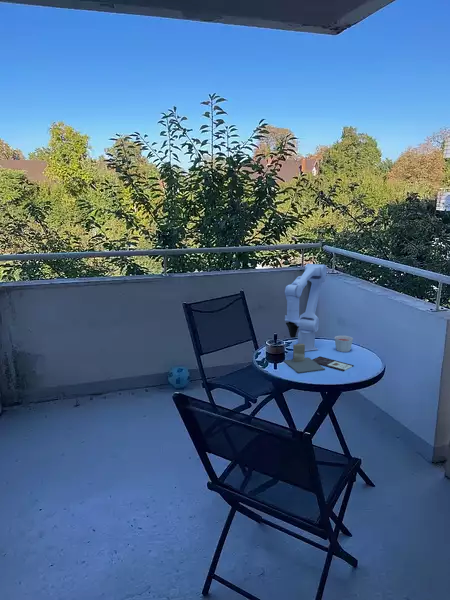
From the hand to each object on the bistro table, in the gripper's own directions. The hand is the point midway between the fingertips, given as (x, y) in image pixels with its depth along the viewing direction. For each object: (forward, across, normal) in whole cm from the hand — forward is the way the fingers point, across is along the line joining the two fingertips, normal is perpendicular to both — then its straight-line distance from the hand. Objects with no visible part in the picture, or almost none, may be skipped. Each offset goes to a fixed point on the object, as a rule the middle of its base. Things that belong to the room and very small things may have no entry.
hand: (292, 337), depth 201 cm
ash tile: (+10, +7, 0) cm, 12 cm away
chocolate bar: (+11, +14, +13) cm, 22 cm away
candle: (+10, -2, +29) cm, 31 cm away
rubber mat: (+10, +12, 0) cm, 16 cm away
